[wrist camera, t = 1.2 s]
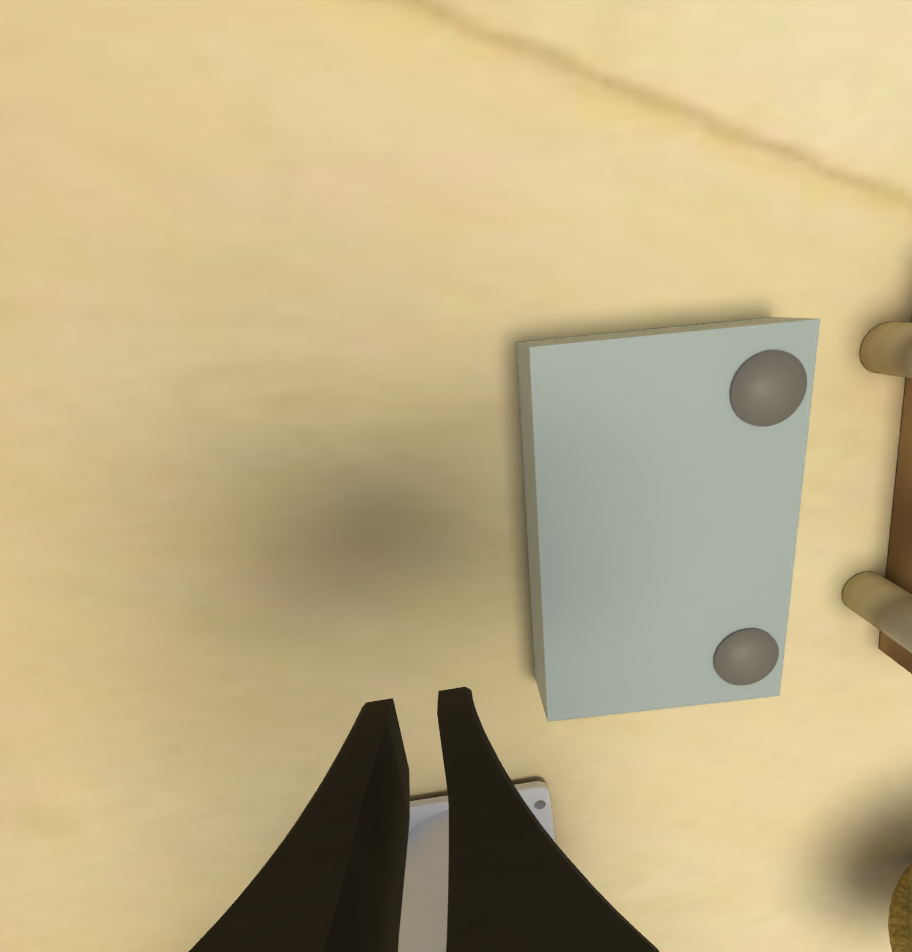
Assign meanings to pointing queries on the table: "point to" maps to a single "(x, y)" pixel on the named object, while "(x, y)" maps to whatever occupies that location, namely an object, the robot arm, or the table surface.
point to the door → (663, 510)
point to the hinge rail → (908, 569)
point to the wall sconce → (901, 914)
